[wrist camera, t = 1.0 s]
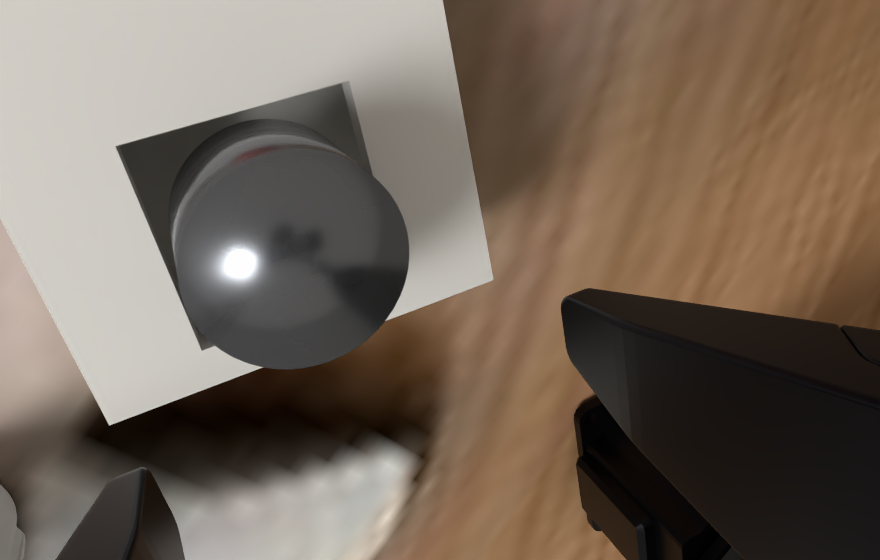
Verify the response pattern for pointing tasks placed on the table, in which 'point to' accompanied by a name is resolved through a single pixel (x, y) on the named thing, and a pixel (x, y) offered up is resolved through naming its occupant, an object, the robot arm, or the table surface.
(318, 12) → the console
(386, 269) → the plug
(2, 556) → the photo printer
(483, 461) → the table surface
